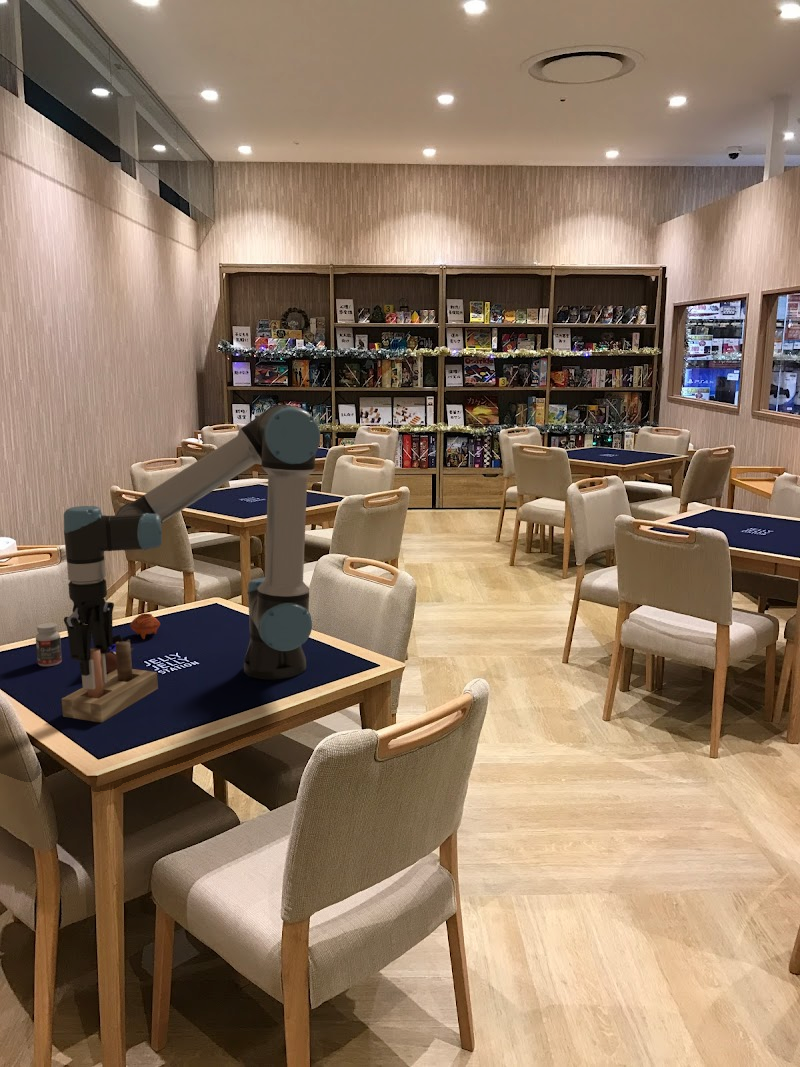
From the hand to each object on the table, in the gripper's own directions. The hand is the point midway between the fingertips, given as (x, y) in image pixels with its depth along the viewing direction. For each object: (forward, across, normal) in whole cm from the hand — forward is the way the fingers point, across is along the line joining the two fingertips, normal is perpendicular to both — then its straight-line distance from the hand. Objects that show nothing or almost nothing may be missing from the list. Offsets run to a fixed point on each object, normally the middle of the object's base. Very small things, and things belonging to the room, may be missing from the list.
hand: (95, 684), depth 185 cm
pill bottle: (+6, -21, -31) cm, 38 cm away
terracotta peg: (+4, 0, 0) cm, 4 cm away
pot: (+6, -47, -21) cm, 52 cm away
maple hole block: (+6, -5, 0) cm, 8 cm away
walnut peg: (+6, -10, 0) cm, 12 cm away
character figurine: (+6, -23, -13) cm, 27 cm away
